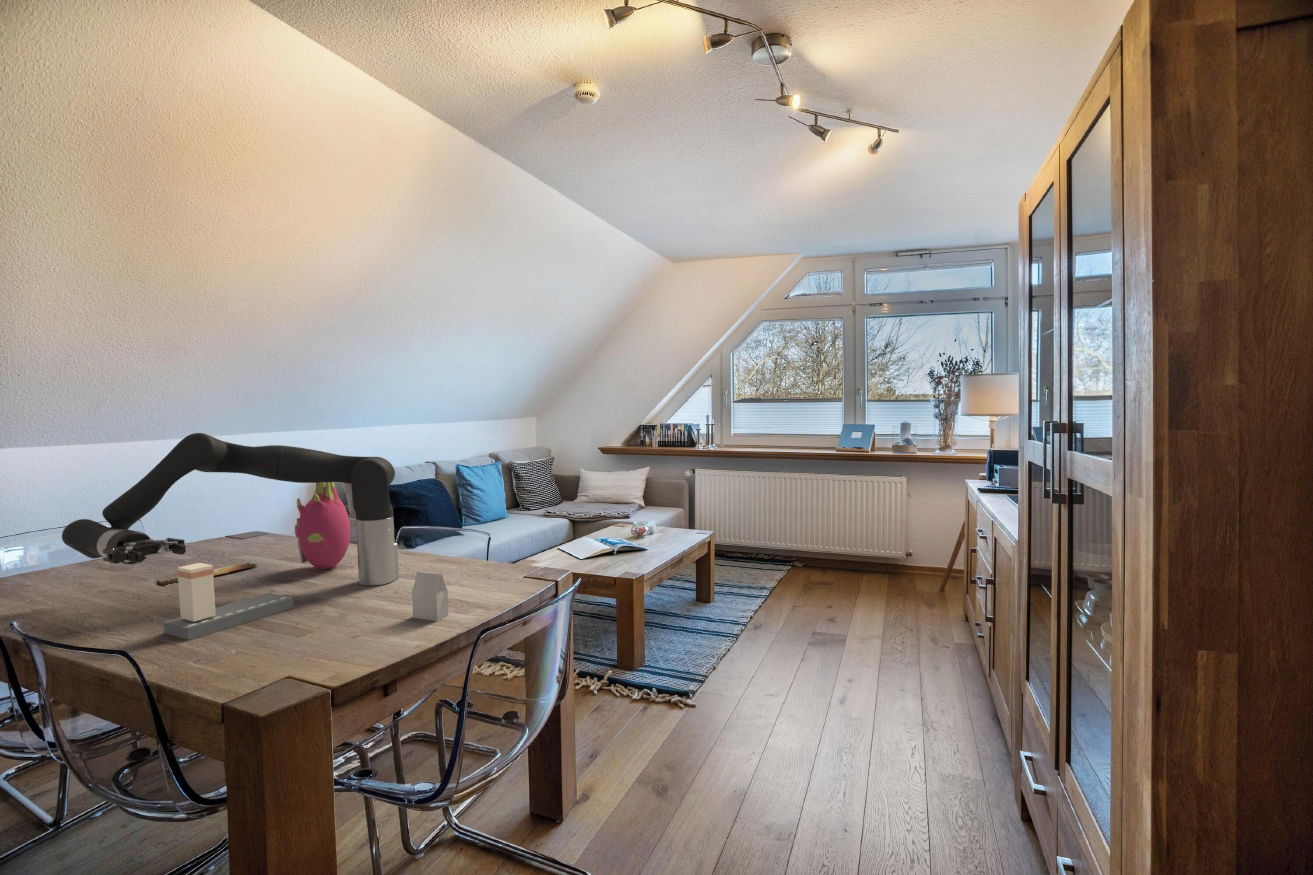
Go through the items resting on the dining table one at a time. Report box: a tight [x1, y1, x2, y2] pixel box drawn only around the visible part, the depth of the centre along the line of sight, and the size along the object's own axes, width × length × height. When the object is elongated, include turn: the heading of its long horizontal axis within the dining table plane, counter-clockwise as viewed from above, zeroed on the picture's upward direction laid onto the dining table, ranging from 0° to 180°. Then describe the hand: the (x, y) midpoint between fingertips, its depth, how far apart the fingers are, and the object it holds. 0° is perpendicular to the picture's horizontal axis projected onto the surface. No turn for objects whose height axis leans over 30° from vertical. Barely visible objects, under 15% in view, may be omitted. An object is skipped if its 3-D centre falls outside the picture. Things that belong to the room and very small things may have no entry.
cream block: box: [176, 562, 216, 622], centre depth 145 cm, size 4×5×11 cm
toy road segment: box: [163, 592, 294, 641], centre depth 152 cm, size 23×9×3 cm, turn 152°
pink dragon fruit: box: [294, 482, 352, 570], centre depth 195 cm, size 18×14×30 cm
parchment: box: [156, 562, 257, 587], centre depth 192 cm, size 25×10×1 cm, turn 145°
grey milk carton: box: [411, 571, 449, 622], centre depth 152 cm, size 4×7×10 cm, turn 68°
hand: (162, 553), depth 150 cm, fingers open, 8 cm apart
